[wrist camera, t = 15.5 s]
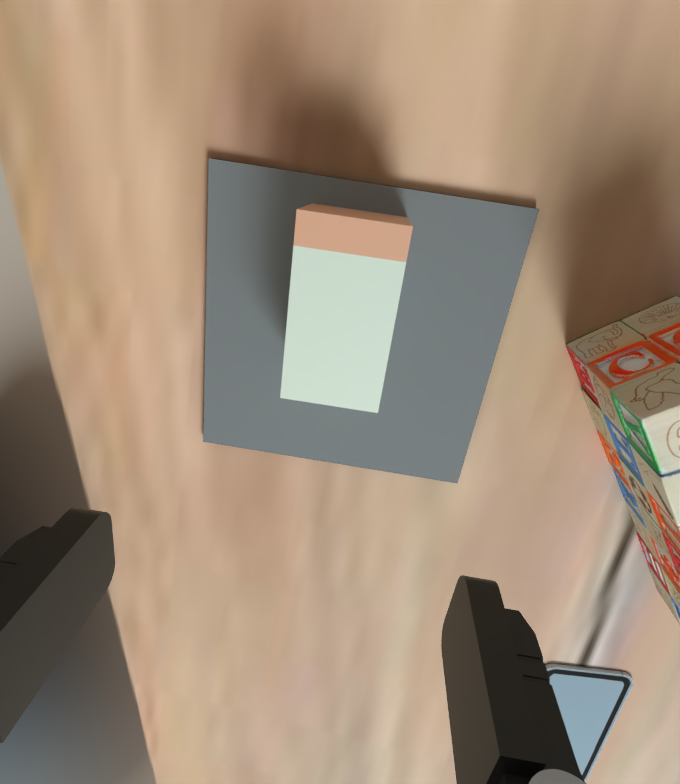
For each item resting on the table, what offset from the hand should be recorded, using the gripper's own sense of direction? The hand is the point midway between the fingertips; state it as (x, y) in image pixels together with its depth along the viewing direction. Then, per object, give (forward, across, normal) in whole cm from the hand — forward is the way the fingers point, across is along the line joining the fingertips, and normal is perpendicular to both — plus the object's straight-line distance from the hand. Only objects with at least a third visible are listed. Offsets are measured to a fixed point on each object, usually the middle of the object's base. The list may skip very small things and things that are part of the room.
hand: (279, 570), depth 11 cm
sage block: (+16, 0, +2) cm, 16 cm away
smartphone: (+20, -24, +32) cm, 44 cm away
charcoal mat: (+19, 0, 0) cm, 19 cm away
